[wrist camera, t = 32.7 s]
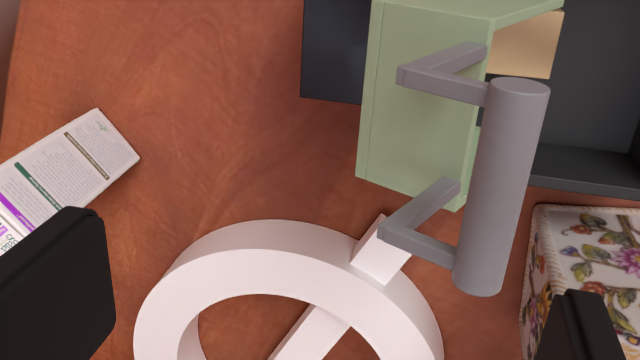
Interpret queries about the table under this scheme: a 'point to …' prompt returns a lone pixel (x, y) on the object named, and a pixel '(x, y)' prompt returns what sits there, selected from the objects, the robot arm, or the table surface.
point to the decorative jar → (583, 268)
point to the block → (526, 46)
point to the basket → (592, 103)
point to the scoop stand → (334, 49)
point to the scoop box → (449, 129)
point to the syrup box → (60, 174)
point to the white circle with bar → (292, 292)
